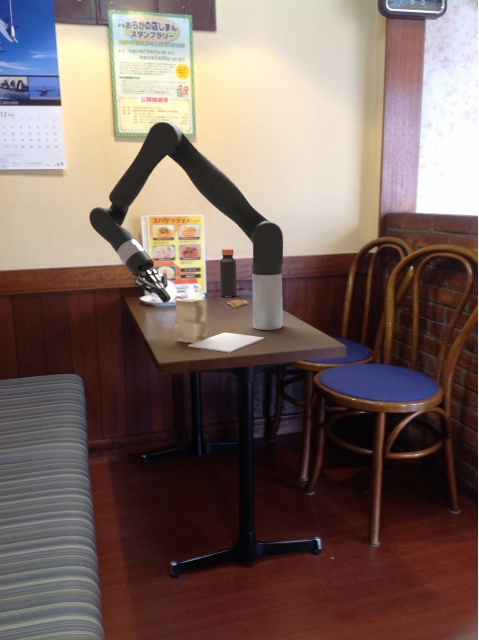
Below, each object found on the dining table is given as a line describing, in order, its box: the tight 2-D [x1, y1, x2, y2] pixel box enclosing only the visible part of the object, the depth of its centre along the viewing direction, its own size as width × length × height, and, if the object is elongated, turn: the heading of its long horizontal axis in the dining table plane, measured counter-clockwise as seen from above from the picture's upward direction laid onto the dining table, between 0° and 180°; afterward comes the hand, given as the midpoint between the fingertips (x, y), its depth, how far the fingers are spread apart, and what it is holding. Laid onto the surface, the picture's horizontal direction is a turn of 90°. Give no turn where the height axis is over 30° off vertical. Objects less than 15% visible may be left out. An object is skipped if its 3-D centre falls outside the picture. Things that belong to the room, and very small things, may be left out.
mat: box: [187, 332, 265, 354], centre depth 162 cm, size 18×14×1 cm
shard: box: [226, 299, 249, 309], centre depth 222 cm, size 11×8×2 cm
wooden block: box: [175, 296, 207, 344], centre depth 166 cm, size 6×6×12 cm
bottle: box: [219, 248, 238, 297], centre depth 242 cm, size 7×7×20 cm
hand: (167, 300), depth 169 cm, fingers closed
